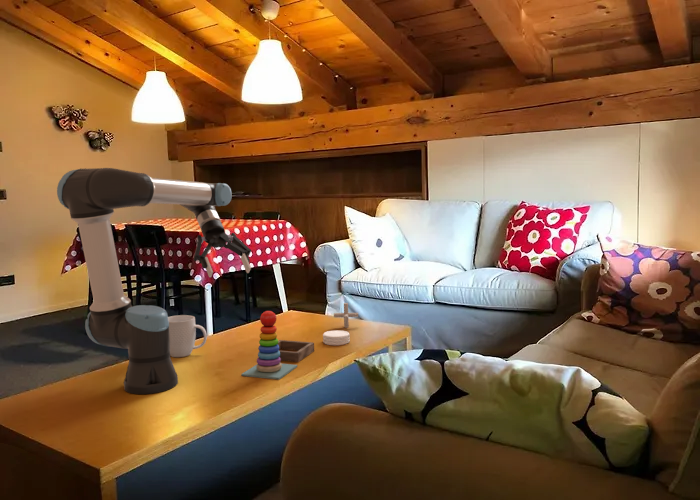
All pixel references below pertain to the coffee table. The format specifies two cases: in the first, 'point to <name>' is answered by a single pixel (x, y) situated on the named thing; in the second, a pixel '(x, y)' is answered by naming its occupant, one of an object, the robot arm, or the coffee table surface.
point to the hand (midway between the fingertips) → (230, 272)
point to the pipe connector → (346, 315)
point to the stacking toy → (268, 345)
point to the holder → (301, 348)
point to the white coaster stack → (336, 337)
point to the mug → (183, 335)
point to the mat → (270, 375)
